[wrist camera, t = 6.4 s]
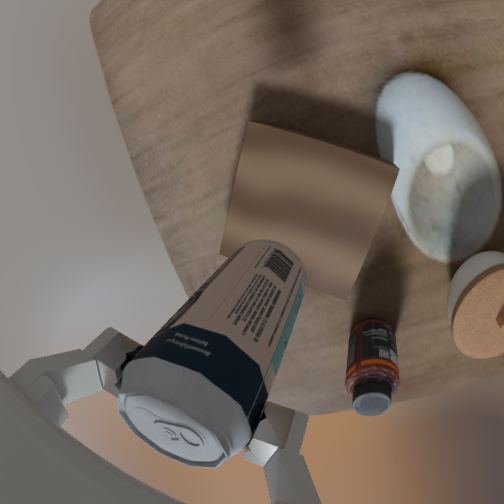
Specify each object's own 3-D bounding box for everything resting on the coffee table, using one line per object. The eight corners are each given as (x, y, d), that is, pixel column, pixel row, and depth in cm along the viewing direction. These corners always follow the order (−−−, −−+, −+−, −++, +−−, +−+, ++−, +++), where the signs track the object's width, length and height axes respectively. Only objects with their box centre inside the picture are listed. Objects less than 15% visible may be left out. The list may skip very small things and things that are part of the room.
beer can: (223, 241, 19) (82, 368, 8) (300, 231, 17) (210, 391, 6) (242, 310, 20) (144, 457, 9) (313, 305, 18) (257, 484, 8)
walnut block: (260, 120, 29) (248, 120, 26) (393, 163, 27) (399, 169, 23) (233, 240, 36) (219, 254, 32) (347, 281, 33) (346, 300, 30)
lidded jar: (523, 281, 25) (555, 325, 17) (461, 332, 31) (478, 384, 23) (489, 216, 25) (528, 251, 17) (420, 277, 30) (436, 327, 22)
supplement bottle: (352, 355, 37) (344, 424, 27) (345, 320, 35) (337, 389, 26) (396, 349, 35) (399, 419, 25) (393, 313, 33) (400, 382, 23)
